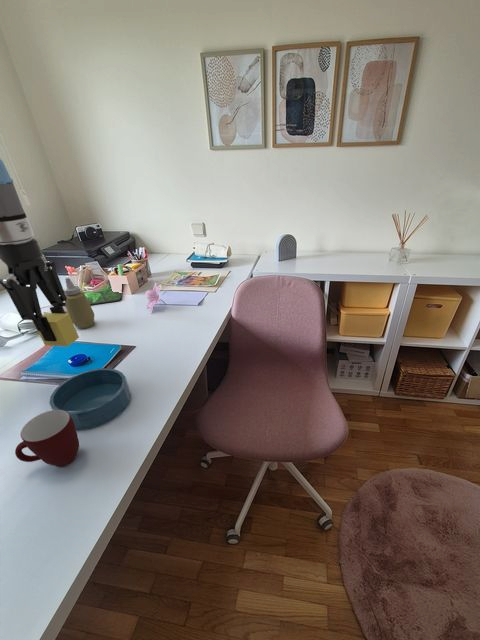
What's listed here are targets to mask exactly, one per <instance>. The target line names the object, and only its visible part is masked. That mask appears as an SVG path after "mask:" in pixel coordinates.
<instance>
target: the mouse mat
mask: <svg viewBox="0 0 480 640" xmlns="http://www.w3.org/2000/svg"><path fill="white" fill-rule="evenodd" d="M80 292H83V291H80ZM83 293H84V294H85V296H86V298H87V300H88V302H89V304H90V306H94V305H99V304H100V305H102V304H108V303H114V302H119V301H122V299H123V292H122V293H119V292H113V291H112V289H111V286H110V284H109V285H107V286H106V287H105V288H103V289H101V290H99V291H97V292H83ZM64 308H66V305H65V306H64Z"/></svg>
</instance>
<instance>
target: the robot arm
mask: <svg viewBox="0 0 480 640" xmlns="http://www.w3.org/2000/svg"><path fill="white" fill-rule="evenodd" d="M34 237H35V233H34V231H33V228H32V226H31V224H30V221H29V219H28V216H27V214H26V212H25V210H24V208H23V205H22V202H21V200H20V198H19V194H18V192H17V189H16V187H15V183H14V181H13V179H12V178H11V175H10V173H9V171H8V168H7V167H6V165H5V163H4V161H3V159H2V158H0V260H1V261H2V263H4V264H5V265H6V267H7V273H8V275H7V276H6V277H5V278H0V285H1V286H2V287H3V288H4V289H5V290H6V292H7V294H8V296H9V298H10V299H11V301H12V303H13V305H14V307H15V308H16V310H17V312H18V315H19V316H20V318H21V319H22V320H23V321H32V323H33V322H34V323H33V325H34V324H35V325H34V327H35V326H36V327H35V329H36V328H37V329H36V331H37V330H38V331H40V332H41V334H42V336H43V338H44V340H45V341H54V342H55V341H56V337H55V335H54V333H53V331H52V329H51V327H50V325H49V322H48V320H47V317H44V316H42V315H43V312H42V308H41V305H40V301H39V296H38V293H37V289H38V288H39V290H40V291H41V292H42V294H43V296H44V297H45V299H46V300H47V302H48V303H49V304H50V306H51V307H49V311H50V313H60V314H67V313H66V311H65V309H64V307H65V305H66V303H65V301H66V300H67V297H66V294H65V292H64V286H63V285H62V282H61V280H60V277H59V275H58V273H57V266H56V265H57V263H56V262H55V261H45V260H44V259H43V258H42V257H43V251H42V249H41V248H40V245H39V242H38V240H37V239H35V238H34ZM38 331H37V332H38Z"/></svg>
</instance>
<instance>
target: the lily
mask: <svg viewBox="0 0 480 640" xmlns="http://www.w3.org/2000/svg"><path fill="white" fill-rule="evenodd" d="M162 286H163V285H162V284H160V285H157V282H155V283H154V284H153V288H152V289H148V290H147V291H145V296H146V299H147V300H148V301H147V303H146V305H145V306H146V307H145V308H146V309H148V308H149V309H148V310H149V313H150V314H152V312H153V309H154V306H155V304H161V302H162V303H163V304H164V305H165V306H167V304H166V302H165V301H164V300H163V299H162V298H160V296H159V295H160V294H159V293H160V290H161V288H162Z"/></svg>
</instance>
